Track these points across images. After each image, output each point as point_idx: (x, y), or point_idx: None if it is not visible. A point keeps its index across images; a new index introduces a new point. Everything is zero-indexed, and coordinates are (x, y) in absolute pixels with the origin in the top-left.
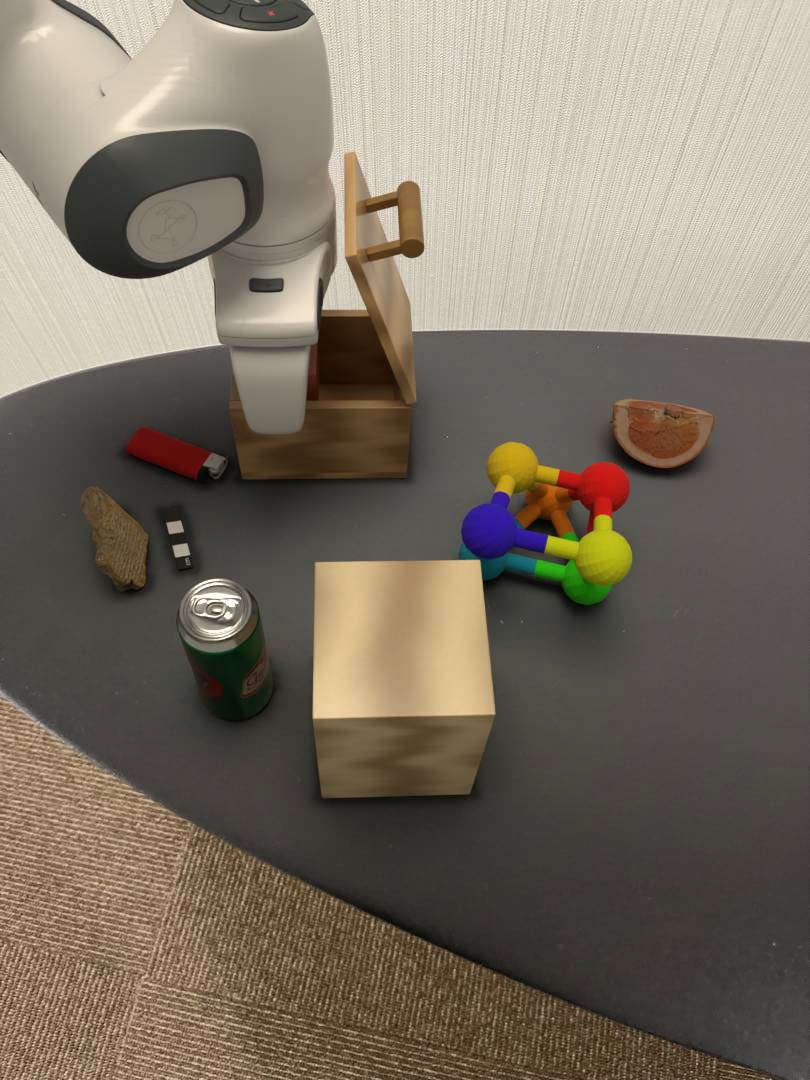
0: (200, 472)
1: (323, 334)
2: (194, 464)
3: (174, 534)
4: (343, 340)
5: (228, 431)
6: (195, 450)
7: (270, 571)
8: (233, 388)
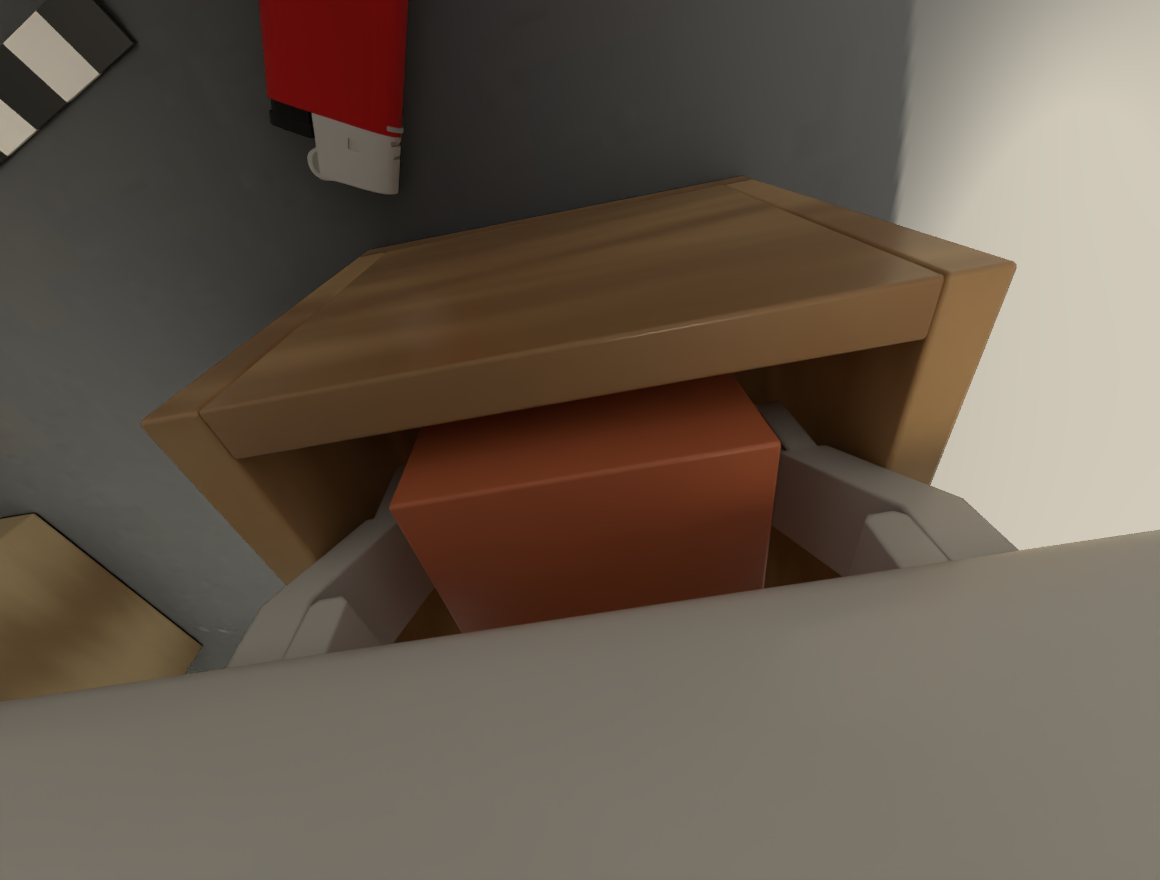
0: (279, 111)
1: None
2: (297, 72)
3: (21, 66)
4: (778, 561)
5: (536, 152)
6: (363, 55)
7: (145, 385)
8: (292, 411)
